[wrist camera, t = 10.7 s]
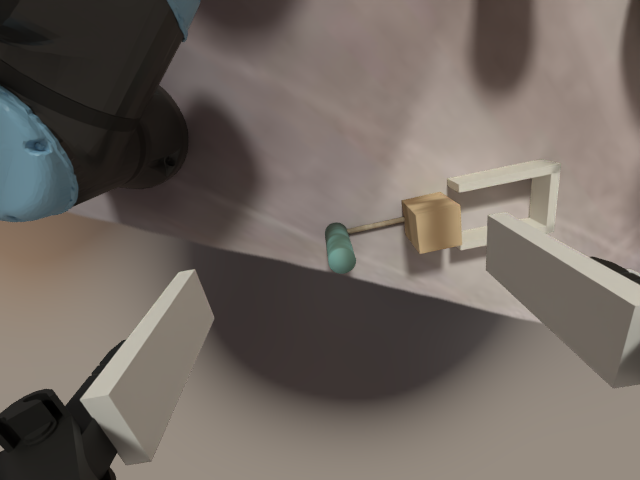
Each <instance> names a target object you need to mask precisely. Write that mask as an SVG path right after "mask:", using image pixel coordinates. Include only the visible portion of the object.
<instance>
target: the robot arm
mask: <svg viewBox="0 0 640 480" xmlns="http://www.w3.org/2000/svg"><path fill="white" fill-rule="evenodd" d="M199 5H200V0H0V220H2V221H9V222H25V221H33V220H38V219H41V218H44V217H48V216H51V215H58V214H62V213H64V212H66V211H68V209H71V208H72V207H73V206H76V205H78V204H80V203H83V202H85V201H87V200H89V199H92V198H94V197H96V196H99V195H101V194H103V193H106V192H108V191H110V190H112V189H115V188H117V187H120V188H129V189H144V188H149V187H153V186H156V185H158V184H160V183H162V182H164V181H166V180H168V179H169V178H171V177H172V176H173V175H175V174H176V173H177V171H178V170H179V169H180V168H181V166H182V164H183V162H184V160H185V158H186V154H187V150H188V132H187V127H186V123H185V120H184V118H183V115H182V113H181V111H180V109H179V107H178V106H177V104H176V103H175V101H174V100H173V99H172V97H171V96H170V95H169V94H168V93H167V92H166V91H165V90H164V89H163V88H162V87H161V86H159V84H160V82H161V80H162V78H163V76H164V74H165V72H166V70H167V68H168V66H169V64H170V63H171V61H172V59H173V57H174V55H175V53H176V51H177V49H178V47H179V45H180V44H181V42H185V41H186V39H187V36H188V29H189V26H190V24H191V22H192V20H193V18H194V16H195V14H196V12H197V9H198V7H199ZM486 271H488V272H489V273H490V274H491V275H492V276H493V277H494V278H495V279H496V280H497V281H498V282H499V283H500V284H501V285H503V286H504V287H505V288H506V289H507V290H508V291H509V292H510V293H511V294H512V295H513V296H514V297H515V298H516V299H518V300H519V301H520V302H521V303H522V304H523V305H524V306H525V307H526V308H527V309H528V310H529V311H530V312H532V313H533V314H534V315H535V316H536V317H537V318H538V319H539V320H540V321H541V322H542V323H543V324H544V325H545V326H547V327H548V328H549V329H550V330H551V331H552V332H553V333H554V334H555V335H556V336H557V337H558V338H559V339H560V340H562V341H563V342H564V343H565V344H566V345H567V346H568V347H569V348H570V349H571V350H572V351H573V352H574V353H576V354H577V355H578V356H579V357H580V358H581V359H582V360H583V361H584V362H585V363H586V364H587V365H588V366H589V367H591V368H592V369H593V370H594V371H595V372H596V373H597V374H598V375H599V376H600V377H601V378H602V379H603V380H605V381H606V382H607V383H608V384H609V385H610V386H611V387H612V388H619V387H625V386H632V385H638V384H640V276H638V275H636V274H634V273H629V271H628V270H626V269H624V268H622V267H620V266H618V265H616V264H615V263H613V262H609V261H606V260H603V259H599V258H596V257H588V256H586V255H584V254H582V253H580V252H578V251H576V250H575V249H573V248H571V247H569V246H567V245H565V244H564V243H562V242H560V241H558V240H556V239H554V238H553V237H551V236H549V235H547V234H545V233H543V232H542V231H540V230H538V229H536V228H534V227H532V226H531V225H529V224H527V223H525V222H523V221H521V220H520V219H518V218H516V217H514V216H512V215H510V214H509V213H507V212H502V213H497V214H491V215H488V220H487V250H486ZM213 320H214V316H213V313H212V311H211V308H210V306H209V303H208V301H207V298H206V296H205V293H204V291H203V288H202V285H201V283H200V280H199V278H198V275H197V273H196V270H195V269H193V270H187V271H182V272H178V274H177V275H176V276H175V277H174V279H173V280H172V281H171V283H170V284H169V285H168V286H167V288H166V289H165V290H164V292H163V293H162V294H161V296H160V297H159V298H158V299H157V301H156V302H155V303H154V305H153V306H152V307H151V308H150V310H149V311H148V312H147V314H146V315H145V316H144V317H143V319H142V320H141V321H140V323H139V324H138V325H137V327H136V328H135V329H134V330H133V332H132V333H131V334H130V336H129V337H128V338H127V339H126V340H123V341H121V342H120V343H119V344H118V345H117V346H116V347H114V348H113V349H112V350H111V351H109V353H108V354H107V355H106V356H105V357H104V359H103V360H102V361H101V362H100V366H97V368H96V369H95V370H94V371H93V372H92V376H89V377H88V379H87V380H86V381H85V382H84V383H83V385H82V386H81V387H80V389H79V390H78V391H77V392H76V394H75V395H74V396H73V397H72V398H71V400H70V401H69V402H68V403H67V405H66V406H64V405H63V403H62V402H61V400H60V399H59V398H58V396H57V395H56V394H55V392H54V391H53V390H52V389H43V390H39V391H36V392H33V393H31V394H29V395H26V396H24V397H23V398H21V399H19V400H18V401H16V402H14V403H13V404H11V405H10V406H9V407H8V408H7V409H5V410H4V411H3V412H1V413H0V445H1V446H2V447H3V448H4V450H3V451H1V452H0V480H116V476H115V473H114V472H113V471H112V469H111V468H110V465H111V463H112V461H113V459H114V457H115V456H116V454H117V453H118V455H119V456H120V457H121V459H122V460H123V462H124V463H125V465H131V464H139V463H144V462H151V461H152V459H153V457H154V454H155V452H156V450H157V447H158V445H159V443H160V441H161V438H162V436H163V434H164V431H165V429H166V427H167V425H168V422H169V420H170V418H171V415H172V413H173V411H174V409H175V407H176V404H177V402H178V400H179V397H180V395H181V393H182V391H183V388H184V386H185V384H186V381H187V379H188V377H189V375H190V372H191V370H192V368H193V366H194V363H195V361H196V359H197V357H198V354H199V352H200V350H201V347H202V345H203V343H204V340H205V338H206V336H207V334H208V332H209V329H210V327H211V325H212V322H213Z"/></svg>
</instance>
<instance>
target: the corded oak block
mask: <svg viewBox="0 0 640 480" xmlns="http://www.w3.org/2000/svg"><path fill="white" fill-rule="evenodd" d="M402 208H403V216H404V217H401V218H396V219H392V220H387V221H383V222H378V223H373V224H369V225H364V226H360V227H355V228H351V229H346V227H345V226H344V225H343V224H341V223H332V224H330V225H329V226H328V227H327V228H326V231H325V237H326V245H327V254H328V262H329V266H330V268H331V269H332V270H333V271H334V272H336V273H340V274H344V273H347V272H349V271H351V270H352V269H353V268H354V266H355V264H356V258H355V255H354V252H353V248H352V245H351V242H350V238H349V235H348V234H351V233H356V232H360V231H365V230H370V229H374V228H379V227H383V226H388V225H392V224H397V223H402V222H404V224H405V232H406V236H407V237H408V239H409V240H410V241H411V243H412V244H413V245H414V247H415V248H416V249H417V251H418V252H419V253H420V254H422V253H427V252H432V251H436V250H441V249H446V248H451V247H455V246H460V245H462V232H461V210H460V205H459V204H458V203H456V202H455V201H453V200H452V199H450V198H449V197H447V196H446V195H444V194H443V193H441V192H438V193H433V194H429V195H424V196H420V197H415V198H411V199H406V200H402Z"/></svg>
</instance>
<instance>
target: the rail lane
mask: <svg viewBox="0 0 640 480" xmlns="http://www.w3.org/2000/svg"><path fill="white" fill-rule="evenodd" d="M560 168H561V163H556V162H552V161H548V160H543V159H539V160H534V161H529V162H524V163H520V164H515V165H510V166H505V167H500V168H495V169H491V170H486V171H481V172H476V173H471V174H466V175H462V176H457V177H452V178H447V184H448V187H450V188H452V189H453V190H455V191H457V192H459V193H461V192H465V191H470V190H475V189H480V188H485V187H490V186H495V185H500V184H505V183H510V182H514V181H519V180H524V179H529V178H532V182H531V197H530V212H529V218H525V219H520V220H521V221H523V222H525V223H527V224H529V225H531V226H532V227H534V228H536V229H538V230H540V231H542V232H543V233H545V234H547V233H552V232H554V226H555V217H556V207H557V197H558V188H559V178H560ZM461 232H462V245H460V246H457V247H458V248H459V249H460V250H465V249H470V248H475V247H480V246H486V245H487V226H485V227H479V228H474V229H469V230H464V231H461Z"/></svg>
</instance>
